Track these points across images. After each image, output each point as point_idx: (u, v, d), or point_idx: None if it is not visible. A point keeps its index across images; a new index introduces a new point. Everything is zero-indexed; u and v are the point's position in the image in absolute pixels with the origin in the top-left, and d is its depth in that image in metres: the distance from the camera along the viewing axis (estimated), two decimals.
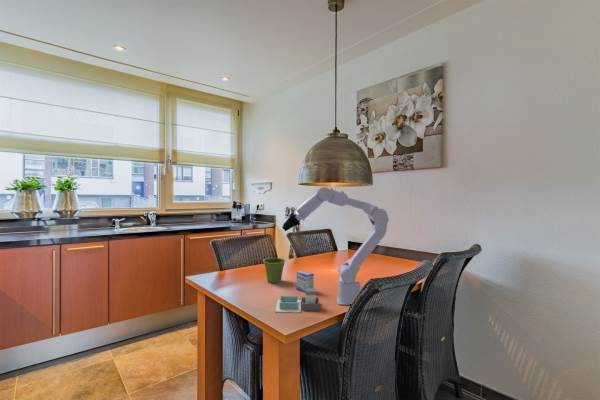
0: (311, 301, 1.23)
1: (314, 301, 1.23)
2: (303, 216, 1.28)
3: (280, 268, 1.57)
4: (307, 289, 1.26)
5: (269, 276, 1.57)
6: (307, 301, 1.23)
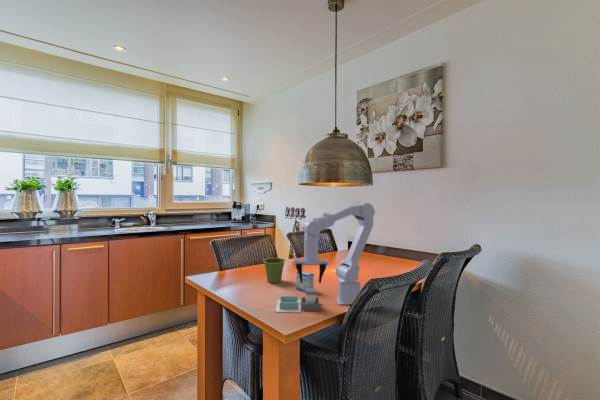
0: (311, 301, 1.23)
1: (314, 301, 1.23)
2: None
3: (280, 268, 1.57)
4: (307, 289, 1.26)
5: (269, 276, 1.57)
6: (307, 301, 1.23)
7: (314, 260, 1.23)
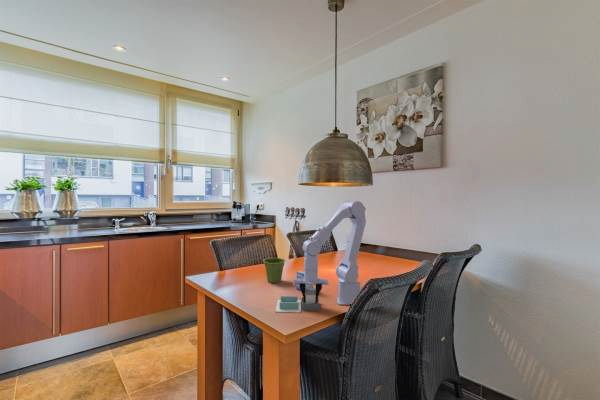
0: (311, 301, 1.23)
1: (314, 301, 1.23)
2: None
3: (280, 268, 1.57)
4: (307, 289, 1.26)
5: (269, 276, 1.57)
6: (307, 301, 1.23)
7: (314, 280, 1.23)
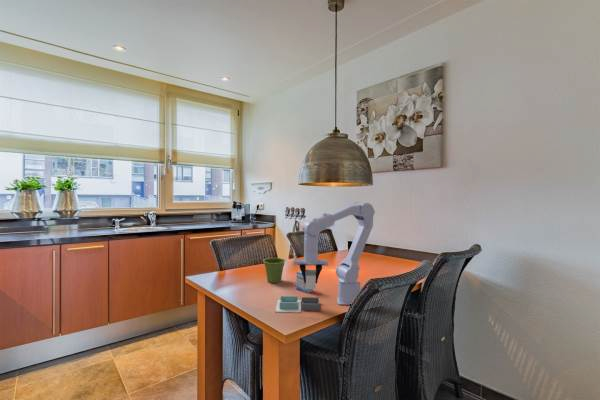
0: (311, 282, 1.23)
1: (314, 282, 1.23)
2: None
3: (280, 268, 1.57)
4: (307, 270, 1.26)
5: (269, 276, 1.57)
6: (307, 282, 1.23)
7: (314, 260, 1.23)
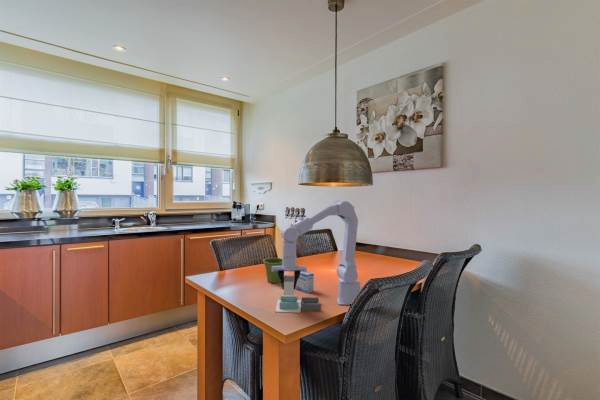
0: (289, 288, 1.23)
1: (292, 288, 1.23)
2: None
3: None
4: (286, 276, 1.26)
5: (269, 276, 1.57)
6: (285, 288, 1.23)
7: (292, 266, 1.23)
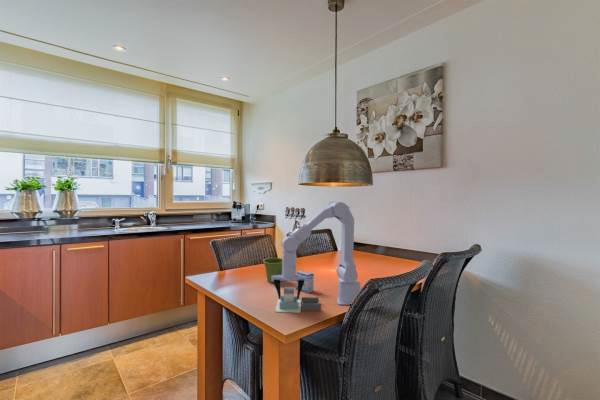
0: (289, 300, 1.23)
1: (292, 300, 1.23)
2: None
3: (280, 268, 1.57)
4: (285, 288, 1.26)
5: (269, 276, 1.57)
6: (285, 300, 1.23)
7: (292, 276, 1.23)
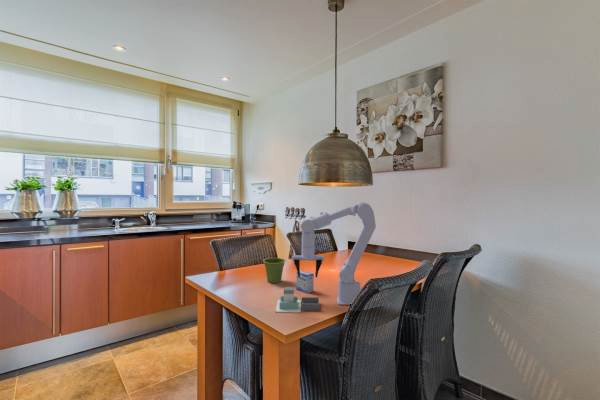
0: (289, 300, 1.23)
1: (292, 300, 1.23)
2: None
3: (280, 268, 1.57)
4: (285, 288, 1.26)
5: (269, 276, 1.57)
6: (285, 300, 1.23)
7: (311, 256, 1.32)
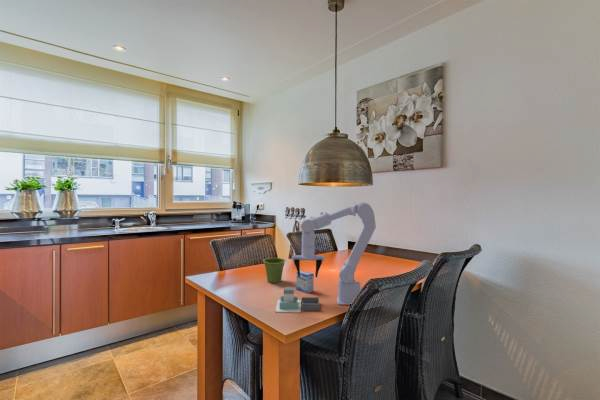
0: (289, 300, 1.23)
1: (292, 300, 1.23)
2: None
3: (280, 268, 1.57)
4: (285, 288, 1.26)
5: (269, 276, 1.57)
6: (285, 300, 1.23)
7: (311, 256, 1.32)
